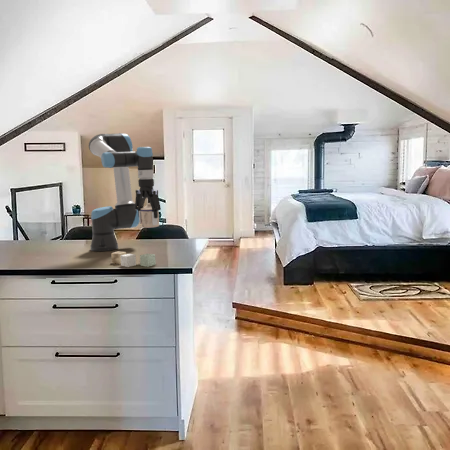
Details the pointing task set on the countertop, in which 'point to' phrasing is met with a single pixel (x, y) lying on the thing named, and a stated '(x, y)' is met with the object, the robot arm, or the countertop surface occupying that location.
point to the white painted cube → (128, 260)
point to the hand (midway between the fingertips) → (148, 224)
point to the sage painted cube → (147, 260)
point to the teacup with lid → (148, 217)
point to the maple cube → (117, 257)
